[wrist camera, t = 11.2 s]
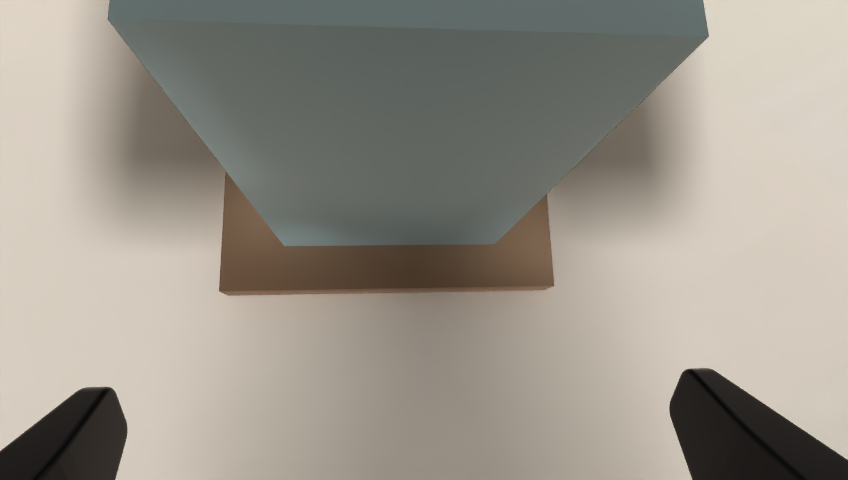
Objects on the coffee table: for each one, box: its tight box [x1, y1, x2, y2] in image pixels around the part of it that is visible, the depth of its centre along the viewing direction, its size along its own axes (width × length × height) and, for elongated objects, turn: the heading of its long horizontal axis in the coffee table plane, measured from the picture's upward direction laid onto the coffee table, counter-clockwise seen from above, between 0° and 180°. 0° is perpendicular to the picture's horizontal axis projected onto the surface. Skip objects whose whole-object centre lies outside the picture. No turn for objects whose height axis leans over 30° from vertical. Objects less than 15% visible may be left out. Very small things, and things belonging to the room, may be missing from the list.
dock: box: [219, 172, 554, 295], centre depth 16 cm, size 11×10×6 cm
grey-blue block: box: [108, 0, 709, 246], centre depth 12 cm, size 8×6×11 cm
